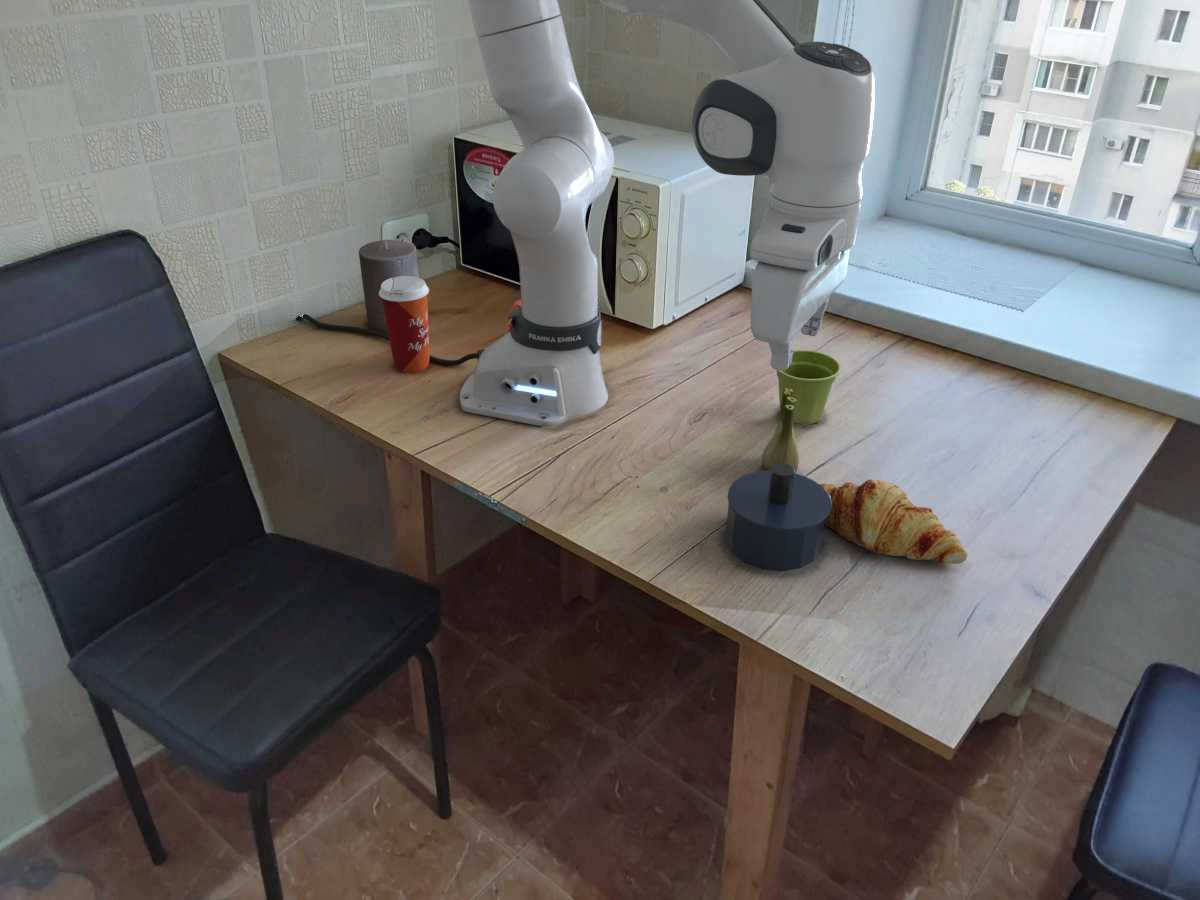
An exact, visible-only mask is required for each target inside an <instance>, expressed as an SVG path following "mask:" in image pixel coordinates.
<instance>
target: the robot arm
mask: <svg viewBox="0 0 1200 900" xmlns="http://www.w3.org/2000/svg"><path fill="white" fill-rule="evenodd" d="M467 1H468V7H469V12H470V17H471V22H472V26H473V30H474V35H475V37H476V42H477V45H478V49H479V52H480V57H481V61H482V64H483V67H484V71H485V74H486V78H487V83H488V85H489V89H490V93H491V97H492V99H493V101H494V102H495V104H496V105H497V106H498V107H500V108H501V109H502V110H503V111H504V112H505V113H506V114H507V116H508V117H509V119H510V120H511V122H512V124H513V126H514V128H515V130H516V132H517V134H518V136H519V138H520V140H521V143H522V147H523V149H522V150H521V151H519V152H517V153H516V154H515V155H513V156H512V157H511V158H510V159H509V160H508V161H507V163H506V164H505V165H504V167H503V169H502V170H501V171H500V172H499V175H498V176H497V178H496V180H495V182H494V185H493V188H492V205H493V209H494V211H495V214H496V216H497V217H498V220H499V221H500V222H501V223H502V225H503V226H504V228H506V229H507V230H509V232H510V235H511V238H512V241H513V244H514V245H513V246H514V248H515V253H516V256H517V263H518V267H519V268H518V269H519V284H520V299H517V300H515V301H514V302H513V305H512V306H511V308H510V313H509V315H508V321H507V323H506V324H507V333H505V334H504V335H502V336H501V337H499V338H497V339H496V340H495V341H492V342H491V343H490V344H488V346H486V348H484V349H476V352H475V353H469V354H466V355H464V356H462V357H460V358H458V359H444V358H443V359H442V358H439V357H435V356H433V355H430V354H429V358H430V360H429V362H432V363H434V364H437V365H442V366H459V365H462V364H464V363H466V362H468V361H470V360H475V359H477V360H476V361H477V362H476V365H475V367H474V368H475V369H474V372H473V373H471V374H470V376H468V378H467V379H466V380H465V382H464V383H463V385H462V387H461V389H460V392H459V406H460V408H461V410H462V411H463V412H466V413H470V414H476V415H481V416H485V417H490V418H491V417H492V418H495V419H503V420H506V421H512V422H517V423H523V424H527V425H533V426H538V427H542V426H556V425H559V424H561V423H563V422H565V421H567V420H569V419H573V418H577V417H581V416H584V415H588V414H590V413H592V412H595V411H596V410H598V409H600V408H604V407H605V405H606V404H607V402H608V400H609V392H608V389H607V387H606V383H605V379H604V375H603V370H602V369H603V368H602V362H601V355H600V354H601V353H600V349H601V345H602V330H603V329H602V317H601V310H600V308H599V305H598V303H599V302H598V301H599V298H598V297H599V295H598V294H599V264H598V258H597V256H596V255H595V254H594V252H593V251H592V248H591V246H590V242H589V237H588V232H587V226H586V217H587V212H588V208H589V206H590V205H591V204H592V203H593V202H595V201H596V200H597V199H598V198H599V197H600V196H601V195H602V194H603V193H604V192H605V190H606V189H607V186H608V184H609V182H610V180H611V177H612V175H613V172H614V169H615V168H614V167H615V153H614V149H613V146H612V144H611V142H610V140H609V139H608V138H607V136H606V135H605V134H604V133H603V132H602V131H601V130H600V129H599V127H598V125H597V123H596V121H595V119H594V117H593V113H591V110H590V107H589V105H588V103H587V101H586V98H585V96H584V94H583V92H582V89H581V86H580V83H579V81H578V77H577V75H576V70H575V68H574V67H575V66H574V63H573V59H572V55H571V50H570V46H569V43H568V42H569V41H568V39H567V34H566V30H565V25H564V21H563V18H562V14H561V9H560V5H559V2H558V1H559V0H467ZM598 1H599V2H600V3H602V4H603V5H604V6H605V7H607V8H608V9H611V10H613V11H616V12H619V13H623V14H627V15H636V16H643V17H650V18H658V19H662V20H668V21H671V22H674V23H678V24H682V25H685V26H688V27H690V28H692V29H693V30H696V31H698V32H699V33H701V34H703V35H704V36H705V37H707V38H708V39H709V40H710V41H711V42H712V43H713V44H714V45H715V46H716V47H717V48H718V49H719V51H720V52H721V53H722V54H723V56H725V58H726V59H727V60H728V61H729V62H730V63H731V64H732V65H733V66H734V67H735V68H736V70H737V71H738V72H735V73H731V74H728V75H725V76H722V77H719V78H718V79H714V80H712V81H710V82H709V83H708V84H707V85H706V86H704V88H702V90H701V92H700V93H699V95H698V96H697V99H696V101H695V104H694V107H693V111H692V117H691V132H692V137H693V142H694V145H695V148H696V150H697V153H698V155H699V156H700V157H701V159H702V160H703V162H704V163H705V164H706V165H707V166H708V167H709V168H710V169H712V170H713V171H715V172H717V173H718V174H721V175H725V176H726V175H728V176H743V177H744V176H745V177H747V176H748V177H751V176H764V177H766V178H767V179H768V181H769V192H768V204H767V207H766V209H765V213H764V214H765V215H764V218H763V220H762V221H761V224H760V226H759V228H758V230H757V231H756V233H755V234H754V237H753V238H752V241H751V244H750V252H749V255H750V259H751V260H753V261H756V264H755V267H754V270H753V275H752V281H751V282H752V283H751V294H750V295H751V296H750V297H751V299H750V330H751V333H752V336H753V338H754V339H755V340H757V341H759V342H764V343H768V346H769V349H770V352H771V355H770V356H771V357H770V367H771V368H772V369H774V370H776V369H777V370H781V371H785V370H787V368H788V367H789V366H790V365H791V363H792V357H793V350H792V342H793V340H794V338H795V336H796V335H797V334H798V333H799V331H800V332H801V334H802V335H805V336H810V337H815V336H816V335H818V334H819V332H820V331H821V329H822V323H823V317H824V315H825V312H826V309H827V306H828V304H829V301H830V297H831V296H832V295H833V294H834V293H835V292H836V290H837V289H838V288H839V287H840V286H841V284H843V283H844V280H845V278H846V275H847V271H848V266H849V257H850V250H851V248H852V247H853V246H855V244H856V240H857V234H858V226H859V221H860V219H859V218H860V214H861V213H860V212H861V205H862V200H863V199H862V198H863V186H862V171H863V167H864V164H865V162H866V159H867V157H868V154H869V151H870V145H871V139H872V131H873V123H874V114H875V100H876V99H875V96H876V95H875V94H876V93H875V92H876V90H875V86H876V85H875V76H874V72H873V67H872V65H871V62H870V61H869V60H868V59H867V58H866V57H865V56H864V55H863V54H862V53H861V52H859V51H857V50H856V49H853V48H850V47H848V46H845V45H843V44H839V43H830V42H825V41H807V42H801V43H800V42H799V41H798V40H797V39H795V37H794V36H792V35H791V33H789V31H788V30H787V29H786V28H785V26H784V25H783V24H781V22H780V21H779V20H778V19H777V18H776V17H775V16H774V15H773V14H772V12H771V11H770V10H769V9H768V8H767V7H766V6H765V4H764V3H763V2H762V1H761V0H598ZM303 314H304V315H303V318H302V317H300V316H299V315H296V318H295V321H296V322H300V321H302V320H303V319H304V320H305V321H308V322H309V323H310V324H312V325H314V326H316V327H318V328H321V329H324V330H331V331H332V330H333V331H341V332H353V333H360V334H364V335H368V336H373V337H376V338H380V339H383V340H386V341H388V342H390V339H389V334H384V333H381V332H377V331H374V330H371V329H370V328H363V327H359V326H351V325H340V324H331V323H325V322H321V321H318V320H317V319H315V318H314V317H312V316H311V315H309V314H307V313H303ZM777 370H776V371H777Z"/></svg>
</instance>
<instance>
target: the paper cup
mask: <svg viewBox="0 0 1200 900" xmlns="http://www.w3.org/2000/svg"><path fill="white" fill-rule="evenodd" d="M418 277H419V276H418ZM418 277H414V276H399V277H394V278H393V279H392V278H390V279H387V280H385V281H384V282H383V283H382V284H381V289H380V291H379V296H380V297H381V298H382V302H383V307H384V313H385V318H386V323H387V329H388V334H387V335H389V339H390V341H389V344H390V349H391V355H392V359H393V363H394V368H395V370H397V371H399V372H402V373H408V374H409V373H418V372H421V371H424V370H426V369H427V368H428V367H429V366H430V361H429V360H430V358H429V355H430V327H429V307H428V306H429V305H428V303H429V302H428V301H429V300H428V294H429V292H430V287H428V285H427V283H426V281H425V280H424V279H423V278H421V277H419V278H418Z"/></svg>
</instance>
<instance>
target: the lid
mask: <svg viewBox="0 0 1200 900" xmlns="http://www.w3.org/2000/svg"><path fill="white" fill-rule="evenodd" d="M794 472H795V470H794V468H793V467H792V466H790V465H788V464H776V465H774V466H773V467H772V470H766V471H764V470H758V471H753V472H749V473H747V474H744V475H742V476H740V477H738V478H737V479H736V480H734V482H732V483H731V485H730V486H729V488H728V491H727V502H728V503H727V504H729V505H730V507H731V509H732V510H733V512H734V513H735V514H736V515H737V516H738V517H740V518H741V519H742V520H744V521H745V522H747V523H749V524H751V525H754V526H756V527H759V528H762V529H766V530H770V531H777V532H799V531H804V530H808V529H812V528H814V527H817V526H818V525H820V524H822V523H823V522H824V521H825V520H826V519H827V518H828V517H829V515H830V513H831V509H832V501H831V498H830V496H829V494H828V492H827V491H826V490H825V489H824V488H823V487H822V486H821V485H819V484H820V483H819V482H816V481H815V480H814V479H811V478H809V477H807V476H805V475H802V474H799V473H794Z"/></svg>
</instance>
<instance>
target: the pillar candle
mask: <svg viewBox="0 0 1200 900" xmlns="http://www.w3.org/2000/svg"><path fill="white" fill-rule="evenodd" d="M358 258H359V267H360V273H361V283H362V289H363V295H364V296H363V297H364V305H365V311H366V314H365V315H366V319H367V326H368V329H369V330H374V331H377V332H381V333H384V334H387V335H389V334H388V329H387V323H386V318H385V313H384V307H383V302H382V298H381V297H380V296H379V291H380V289H381V284H382V283H383V282H384V281H385V280H387V279H390V278H392V279H393V278H394V277H399V276H414V277H418V278H420V277H419V266H418V258H417V247H416V245H415V244H414V243H413V242H410V241H406V240H401V239H400V240H399V239H382V240H375V241H371V242H369V243H368V242H367V243H366V244H364V245H362V246H360V248H359V249H358Z"/></svg>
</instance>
